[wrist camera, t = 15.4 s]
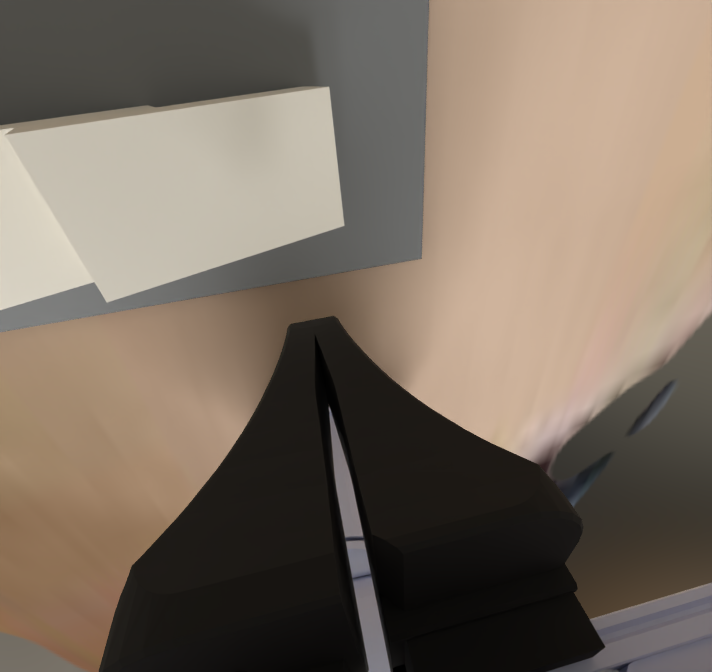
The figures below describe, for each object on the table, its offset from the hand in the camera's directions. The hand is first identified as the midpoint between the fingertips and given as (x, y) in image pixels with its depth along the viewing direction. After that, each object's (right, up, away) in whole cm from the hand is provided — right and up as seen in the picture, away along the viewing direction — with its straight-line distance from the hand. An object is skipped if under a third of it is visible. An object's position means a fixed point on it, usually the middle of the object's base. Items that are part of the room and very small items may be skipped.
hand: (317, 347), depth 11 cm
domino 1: (0, +7, +4) cm, 8 cm away
